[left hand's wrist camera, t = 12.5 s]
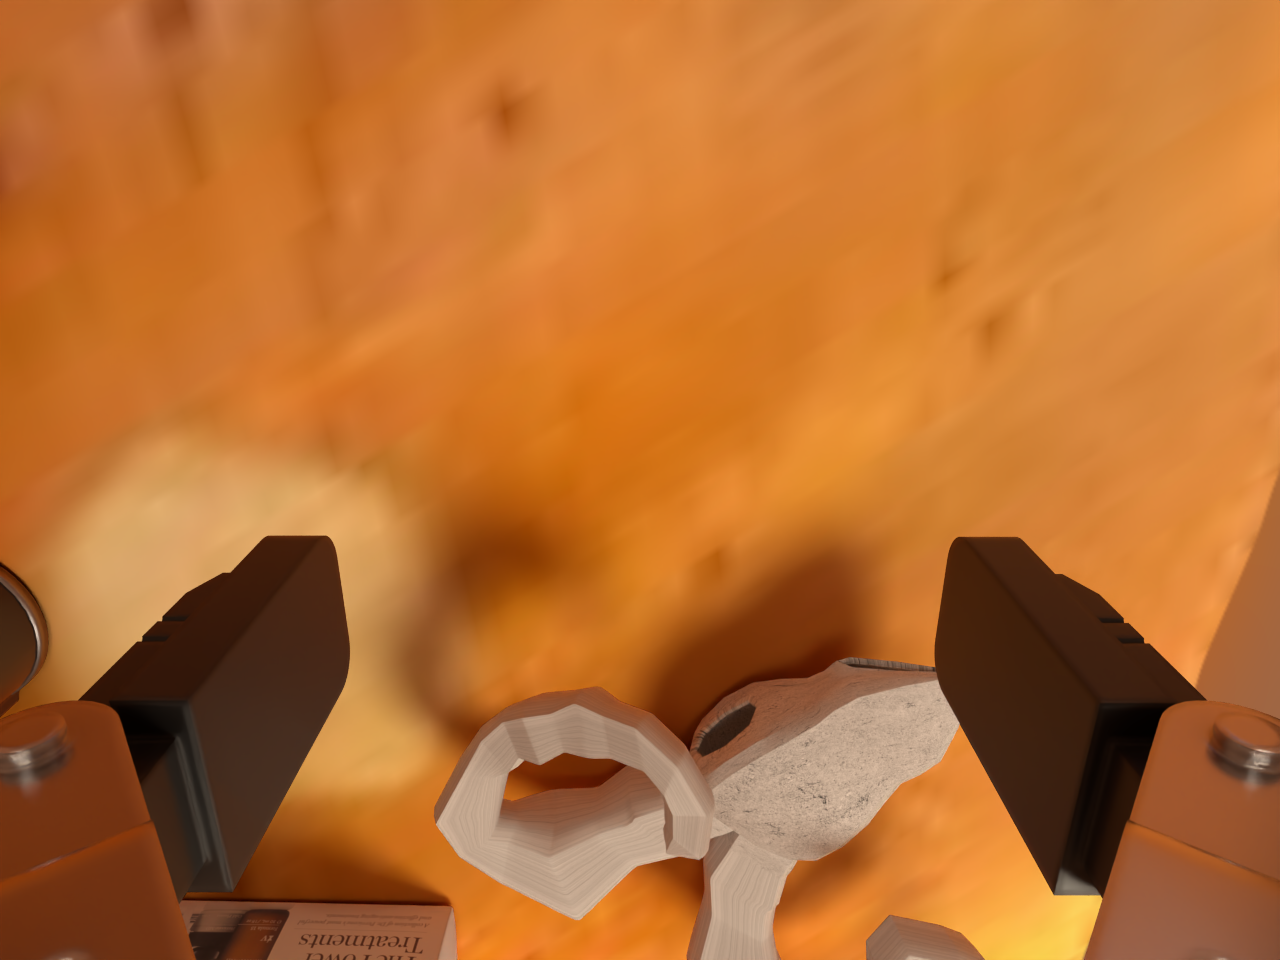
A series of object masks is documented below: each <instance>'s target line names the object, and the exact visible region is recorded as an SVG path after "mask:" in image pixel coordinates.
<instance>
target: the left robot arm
mask: <svg viewBox="0 0 1280 960" xmlns="http://www.w3.org/2000/svg"><path fill="white" fill-rule="evenodd" d="M162 618H163V619H162V621H157V622H156V623H155V624H154V625H153V626H152V627H151V628H150V629H149V630H148V631H147V632H146V633H145V634H144V635H143V636H142V637H143V639H142V642H136V643H135V644H134V645H133V646H132V647H131V648H130V649H129V650H128V651H127V652H126V653H125V654H124V655H123V656H122V657H121V658H120V659H119V660H118V661H117V662H116V663H115V664H114V665H113V666H112V667H111V668H110V669H109V670H108V671H107V672H106V673H105V674H104V675H103V676H102V677H101V678H100V679H99V680H98V681H97V682H96V683H95V684H94V685H93V686H92V687H91V688H90V689H89V690H88V691H87V692H86V693H85V694H84V695H83V696H82V697H81V698H80V699H79V700H78V701H64V702H55V703H50V704H45V705H41V706H37V707H33V708H30V709H26V710H23V711H20V712H18V713H15V714H12V715H9V716H7V717H5V718H2V719H0V960H196V958H195V955H194V952H193V949H192V945H191V942H190V939H189V936H188V932H187V929H186V926H185V923H184V919H183V916H182V913H181V910H180V906H179V904H180V902H181V901H182V899H183V897H184V896H185V894H186V892H233V891H234V889H235V887H236V885H237V883H238V881H239V880H240V878H241V876H242V874H243V872H244V870H245V868H246V867H247V865H248V863H249V861H250V859H251V857H252V856H253V854H254V852H255V850H256V848H257V846H258V845H259V843H260V841H261V839H262V837H263V835H264V834H265V832H266V830H267V828H268V826H269V824H270V823H271V821H272V819H273V817H274V815H275V813H276V811H277V810H278V808H279V806H280V804H281V802H282V800H283V799H284V797H285V795H286V793H287V791H288V789H289V788H290V786H291V784H292V782H293V780H294V778H295V777H296V775H297V773H298V771H299V769H300V767H301V765H302V764H303V762H304V760H305V758H306V756H307V754H308V753H309V751H310V749H311V747H312V745H313V743H314V742H315V740H316V738H317V736H318V734H319V732H320V731H321V729H322V727H323V725H324V723H325V721H326V720H327V718H328V716H329V714H330V712H331V710H332V708H333V707H334V705H335V703H336V701H337V699H338V697H339V696H340V694H341V692H342V690H343V688H344V685H345V682H346V678H347V674H348V669H349V660H350V643H349V635H348V628H347V621H346V614H345V607H344V601H343V594H342V587H341V580H340V573H339V566H338V560H337V554H336V550H335V546H334V544H333V542H332V540H331V539H330V538H329V537H328V536H266V537H265V538H263V539H262V540H261V541H260V542H259V543H258V544H257V545H256V546H255V547H254V549H253V550H252V551H251V552H250V553H249V554H248V555H247V556H246V557H245V558H244V559H243V560H242V561H241V562H240V563H239V564H238V565H237V566H236V567H235V568H234V570H233V571H232V572H231V573H222V574H220V575H218V576H216V577H214V578H213V579H211V580H209V581H207V582H205V583H204V584H202V585H200V586H198V587H196V588H194V589H193V590H191V591H189V592H187V593H186V594H185V595H184V596H183V597H182V598H181V599H180V600H179V601H178V602H177V603H176V604H175V605H174V606H173V607H172V608H171V609H170V610H169V611H168V612H167V613H166V614H165V615H164V616H163V617H162ZM48 643H49V641H48V631H47V626H46V622H45V619H44V617H43V614H42V612H41V610H40V608H39V606H38V604H37V603H36V601H35V600H34V598H33V597H32V595H31V594H30V593H29V591H28V590H27V589H26V588H25V587H24V586H23V585H22V584H21V583H20V582H19V581H18V580H17V579H16V578H15V577H14V576H13V575H12V574H10V573H9V572H8V571H6V570H5V569H4V568H2V567H1V566H0V717H1V716H2V715H3V714H4V713H5V712H6V711H7V710H9V709H10V708H11V707H12V706H13V705H14V704H15V703H16V702H17V701H18V700H19V690H20V689H21V688H23V687H24V686H25V685H26V684H27V683H28V682H29V681H31V680H32V679H33V678H34V677H35V676H36V675H37V673H38V672H39V671H40V669H41V668H42V666H43V664H44V662H45V659H46V656H47V652H48ZM935 667H936V673H937V678H938V682H939V685H940V688H941V690H942V692H943V694H944V696H945V698H946V700H947V702H948V703H949V705H950V707H951V709H952V711H953V713H954V714H955V716H956V718H957V720H958V722H959V723H960V725H961V727H962V729H963V731H964V732H965V734H966V736H967V738H968V740H969V742H970V743H971V745H972V747H973V749H974V751H975V752H976V754H977V756H978V758H979V760H980V762H981V763H982V765H983V767H984V769H985V771H986V772H987V774H988V776H989V778H990V780H991V782H992V783H993V785H994V787H995V789H996V791H997V792H998V794H999V796H1000V798H1001V800H1002V802H1003V803H1004V805H1005V807H1006V809H1007V811H1008V812H1009V814H1010V816H1011V818H1012V820H1013V822H1014V823H1015V825H1016V827H1017V829H1018V831H1019V832H1020V834H1021V836H1022V838H1023V840H1024V842H1025V843H1026V845H1027V847H1028V849H1029V851H1030V852H1031V854H1032V856H1033V858H1034V860H1035V861H1036V863H1037V865H1038V867H1039V869H1040V871H1041V872H1042V874H1043V876H1044V878H1045V880H1046V881H1047V883H1048V885H1049V887H1050V889H1051V891H1052V892H1053V894H1054V895H1101V897H1102V898H1103V900H1102V903H1101V906H1100V910H1099V913H1098V916H1097V919H1096V923H1095V926H1094V929H1093V932H1092V936H1091V939H1090V942H1089V945H1088V949H1087V952H1086V955H1085V958H1084V960H1280V719H1278V718H1275V717H1273V716H1271V715H1268V714H1265V713H1262V712H1260V711H1257V710H1254V709H1250V708H1247V707H1243V706H1239V705H1234V704H1230V703H1225V702H1216V701H1207V700H1206V699H1205V698H1204V697H1203V696H1202V695H1201V694H1200V693H1199V692H1198V691H1197V690H1196V689H1195V688H1194V687H1193V686H1192V685H1191V684H1190V683H1189V682H1188V681H1187V680H1186V679H1185V678H1184V677H1183V676H1182V675H1181V674H1180V673H1179V672H1178V671H1177V670H1176V669H1175V668H1174V667H1173V666H1172V665H1171V664H1170V663H1169V662H1168V661H1167V660H1166V659H1165V658H1164V657H1162V656H1161V655H1160V654H1159V653H1158V652H1157V651H1156V650H1155V649H1154V648H1153V647H1152V646H1151V645H1150V644H1145V643H1144V638H1143V637H1142V636H1141V635H1140V634H1139V633H1138V632H1137V631H1136V630H1135V629H1134V628H1133V627H1132V626H1131V625H1130V624H1129V623H1124V618H1123V617H1122V616H1121V615H1120V614H1119V613H1118V612H1117V611H1116V610H1115V609H1114V608H1113V607H1112V606H1111V605H1110V604H1109V603H1108V602H1107V601H1106V600H1105V599H1103V598H1102V597H1101V596H1100V595H1099V594H1098V593H1096V592H1094V591H1092V590H1090V589H1088V588H1087V587H1085V586H1083V585H1081V584H1079V583H1077V582H1076V581H1074V580H1072V579H1070V578H1068V577H1067V576H1065V575H1063V574H1055V573H1054V572H1053V571H1052V570H1051V569H1050V568H1049V567H1048V566H1047V565H1046V564H1045V563H1044V562H1043V561H1042V560H1041V559H1040V558H1039V557H1038V556H1037V555H1036V554H1035V553H1034V552H1033V551H1032V550H1031V549H1030V547H1029V546H1028V545H1027V544H1026V543H1025V542H1024V541H1023V540H1021V539H1020V538H1018V537H958V538H956V539H955V540H954V541H953V543H952V545H951V547H950V550H949V553H948V559H947V565H946V572H945V579H944V585H943V592H942V599H941V606H940V612H939V619H938V626H937V633H936V639H935Z"/></svg>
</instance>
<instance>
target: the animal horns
mask: <svg viewBox="0 0 1280 960" xmlns="http://www.w3.org/2000/svg"><path fill="white" fill-rule="evenodd" d="M959 724H960V723H959V722H958V720H957V718H956V716H955V714H954V713H953V711H952V709H951V707H950V705H949V703H948V702H947V700H946V698H945V696H944V694H943V692H942V690H941V688H940V685H939V682H938V678H937V673H936V667H929V666H922V665H915V664H908V663H902V662H894V661H884V660H874V659H864V658H854V657H849V658H845V659H842V660H838V661H836V662H834V663H833V664H832V665H830V666H829V667H828V668H827V669H826V670H824V671H823V672H820V673H818V674H816V675H813V676H811V677H808V678H790V679H777V680H769V681H761V682H754V683H751V684H749V685H747V686H745V687H743V688H741V689H740V690H738V691H736V692H734V693H732V694H730V695H728V696H726V697H724V698H723V699H722V700H721V701H720V702H719V703H718V704H717V705H716V706H715V707H714V708H713V709H712V710H711V711H710V712H709V713H708V714H707V715H706V716H705V717H704V718H703V719H702V720H701V722H700V724H699V725H698V727H697V729H696V731H695V732H694V736H693V740H692V744H691V748H690V752H689V751H688V749H687V748H686V746H685V744H684V743H683V742H682V741H681V740H680V739H679V738H678V737H677V736H675V735H674V734H673V733H672V732H671V731H670V730H669V729H668V728H667V727H666V726H665V725H664V724H663V723H662V722H661V721H660V720H659V719H658V718H657V717H656V716H655V715H654V714H652V713H650V712H648V711H645V710H642V709H639V708H637V707H634V706H631V705H628V704H625V703H623V702H620V701H619V700H618V699H616V698H615V697H614V696H612V695H611V694H610V693H608V692H607V691H606V690H604V689H603V688H601V687H590V688H584V689H578V690H570V691H558V692H548V693H542V694H540V695H537V696H534V697H531V698H528V699H526V700H523V701H521V702H518V703H515V704H513V705H511V706H509V707H507V708H505V709H504V710H503V711H501V712H500V713H499V714H497V715H496V716H495V717H493V718H492V719H490V720H489V721H488V722H486V723H485V724H484V725H483V726H482V727H481V728H480V730H479V731H478V733H477V734H476V735H475V737H474V738H473V740H472V741H471V743H470V744H469V746H468V747H467V748H466V750H465V751H464V753H463V754H462V756H461V758H460V759H459V761H458V763H457V765H456V767H455V769H454V771H453V773H452V775H451V777H450V778H449V780H448V782H447V784H446V786H445V788H444V790H443V792H442V794H441V796H440V797H439V799H438V801H437V803H436V805H435V810H434V818H435V822H436V825H437V827H438V828H439V829H440V831H441V832H442V833H443V835H444V836H445V838H446V839H447V840H448V842H449V843H450V845H451V846H452V847H453V849H454V850H455V851H456V853H457V854H458V856H459V857H460V858H462V859H464V860H465V861H467V862H468V863H470V864H471V865H473V866H474V867H476V868H478V869H479V870H481V871H482V872H484V873H485V874H487V875H489V876H490V877H492V878H493V879H495V880H496V881H498V882H499V883H501V884H503V885H506V886H508V887H510V888H512V889H514V890H516V891H518V892H520V893H522V894H524V895H526V896H528V897H530V898H532V899H534V900H536V901H538V902H540V903H542V904H544V905H546V906H548V907H550V908H552V909H554V910H556V911H558V912H560V913H562V914H564V915H566V916H568V917H570V918H572V919H575V920H580V919H581V918H582V917H584V916H585V915H586V914H587V913H588V912H589V911H590V910H591V909H592V908H593V907H594V906H595V905H596V904H597V903H598V902H599V901H600V900H601V899H602V898H603V897H604V896H605V895H607V894H608V893H609V892H610V891H611V890H612V889H613V888H614V887H615V886H616V885H617V884H618V883H619V882H620V881H621V880H622V879H623V878H624V877H625V876H626V875H627V874H628V873H629V872H631V871H632V870H633V869H634V868H635V867H637V866H640V865H643V864H648V863H652V862H656V861H661V860H665V859H670V858H674V857H679V856H680V857H686V858H691V859H697V860H700V859H701V858H703V868H704V895H703V899H702V902H701V906H700V909H699V912H698V915H697V919H696V922H695V925H694V928H693V932H692V936H691V939H690V943H689V947H688V952H687V960H781V958H780V956H779V954H778V951H777V949H776V946H775V940H774V934H773V921H774V914H775V909H776V906H777V905H778V904H779V901H780V898H781V895H782V892H783V888H784V885H785V881H786V878H787V875H788V874H789V873H790V872H791V871H792V869H793V868H794V866H795V864H796V862H797V860H812V861H817V860H818V859H820V858H822V857H824V856H826V855H828V854H830V853H832V852H834V851H836V850H838V849H840V848H841V847H843V846H844V845H846V844H847V843H848V842H849V841H850V840H851V839H852V838H853V837H855V836H856V835H857V834H858V833H859V832H860V831H861V830H862V829H863V828H865V827H866V826H867V825H868V824H869V823H870V821H871V820H872V819H873V817H874V816H875V815H876V813H877V812H878V811H879V810H880V808H881V807H882V806H883V804H884V803H885V802H886V801H887V799H888V798H889V797H890V796H891V795H892V794H893V792H894V791H895V790H896V789H897V788H898V787H899V785H900V784H901V783H903V782H905V781H908V780H910V779H912V778H914V777H916V776H919V775H921V774H922V773H924V772H925V771H927V770H928V769H930V768H931V767H933V766H934V765H936V764H937V763H939V762H940V761H941V760H942V758H943V756H944V754H945V752H946V750H947V748H948V746H949V744H950V742H951V741H952V739H953V737H954V735H955V733H956V731H957V729H958V727H959ZM562 753H569V754H573V755H577V756H581V757H586V758H609V759H613V760H616V761H618V762H621V763H623V764H626V765H627V766H625V767H624V768H623V769H621V770H620V771H619V772H617V773H616V774H615V775H614V776H612V777H611V778H610V779H608V780H607V781H606V782H604V783H603V784H602V785H600V786H598V787H592V788H566V789H555V790H548V791H544V792H541V793H537V794H534V795H531V796H528V797H525V798H522V799H518V800H515V801H510V800H507V799H503V796H504V791H505V786H506V782H507V778H508V774H509V772H510V771H511V770H513V769H515V768H517V767H518V766H519V765H520V764H521V763H522V762H523V761H524V760H526V761H528V762H531V763H534V764H537V765H541V764H543V763H545V762H547V761H549V760H551V759H553V758H555V757H556V756H558V755H560V754H562ZM866 958H867V960H985V959H984V958H983V957H982V956H981V954H980V953H979V952H978V951H977V949H976V948H975V947H974V946H973V945H972V944H971V943H970V942H969V941H968V940H967V939H966V938H965V936H963V935H962V934H961V933H959V932H957V931H954V930H951V929H949V928H946V927H944V926H941V925H937V924H932V923H927V922H922V921H917V920H913V919H908V918H903V917H898V916H893V915H889V916H888V917H887V918H886V919H885V921H884V922H883V923H882V924H881V925H880V926H879V927H878V928H877V929H876V930H875V932H874V933H873V934H872V935H871V936H870V937H869V938H868V939H867V940H866Z"/></svg>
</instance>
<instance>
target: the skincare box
mask: <svg viewBox="0 0 1280 960" xmlns="http://www.w3.org/2000/svg"><path fill="white" fill-rule="evenodd" d="M179 906H180V910H181V913H182V916H183V919H184V923H185V926H186V929H187V932H188V936H189V939H190V942H191V945H192V949H193V952H194V955H195V958H196V960H457V941H456V927H455V919H454V912H453V908H452V907H451V906H422V905H377V904H332V903H291V902H237V901H190V900H182V901H181V902H180V904H179Z"/></svg>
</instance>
